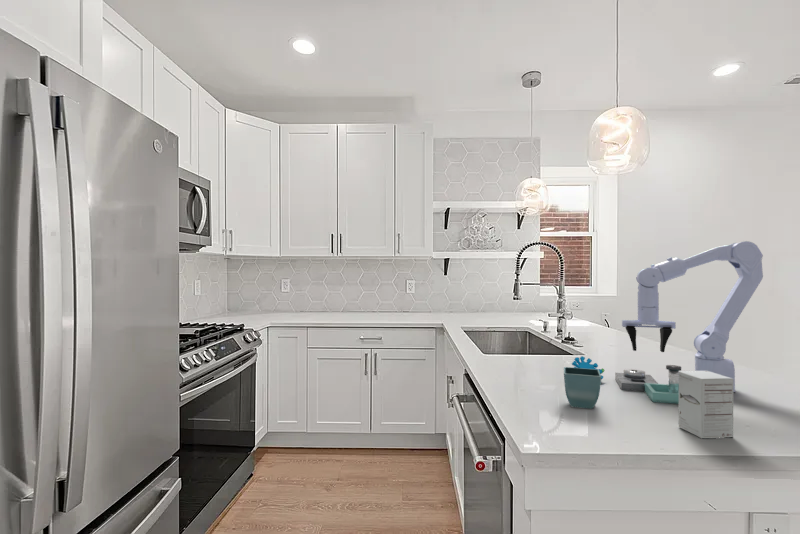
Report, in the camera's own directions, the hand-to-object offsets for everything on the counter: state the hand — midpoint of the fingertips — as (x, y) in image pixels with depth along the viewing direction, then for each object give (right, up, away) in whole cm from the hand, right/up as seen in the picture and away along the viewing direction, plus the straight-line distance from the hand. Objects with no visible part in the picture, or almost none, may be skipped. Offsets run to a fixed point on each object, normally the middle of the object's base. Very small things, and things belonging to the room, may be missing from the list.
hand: (648, 351), depth 144 cm
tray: (-1, -10, -17) cm, 20 cm away
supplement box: (-11, -10, -44) cm, 46 cm away
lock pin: (-2, -9, -17) cm, 19 cm away
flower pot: (-30, -10, -24) cm, 40 cm away
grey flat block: (-5, -10, -3) cm, 11 cm away
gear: (-18, -10, +1) cm, 21 cm away
